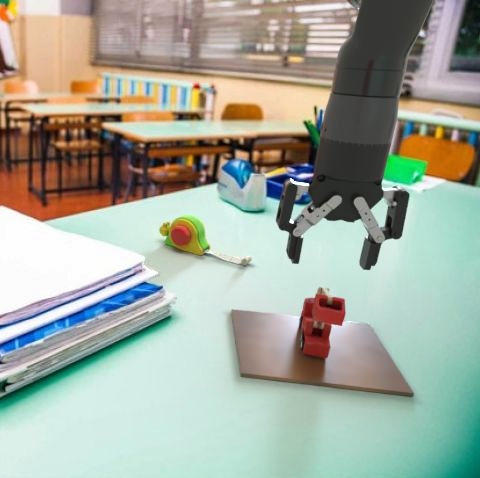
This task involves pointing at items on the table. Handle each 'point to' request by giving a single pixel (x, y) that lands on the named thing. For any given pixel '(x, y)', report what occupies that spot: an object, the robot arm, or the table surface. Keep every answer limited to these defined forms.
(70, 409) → the table surface
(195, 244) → the toy measuring tape
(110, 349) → the table surface
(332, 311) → the toy fire truck
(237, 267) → the table surface
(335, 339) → the metal plate
